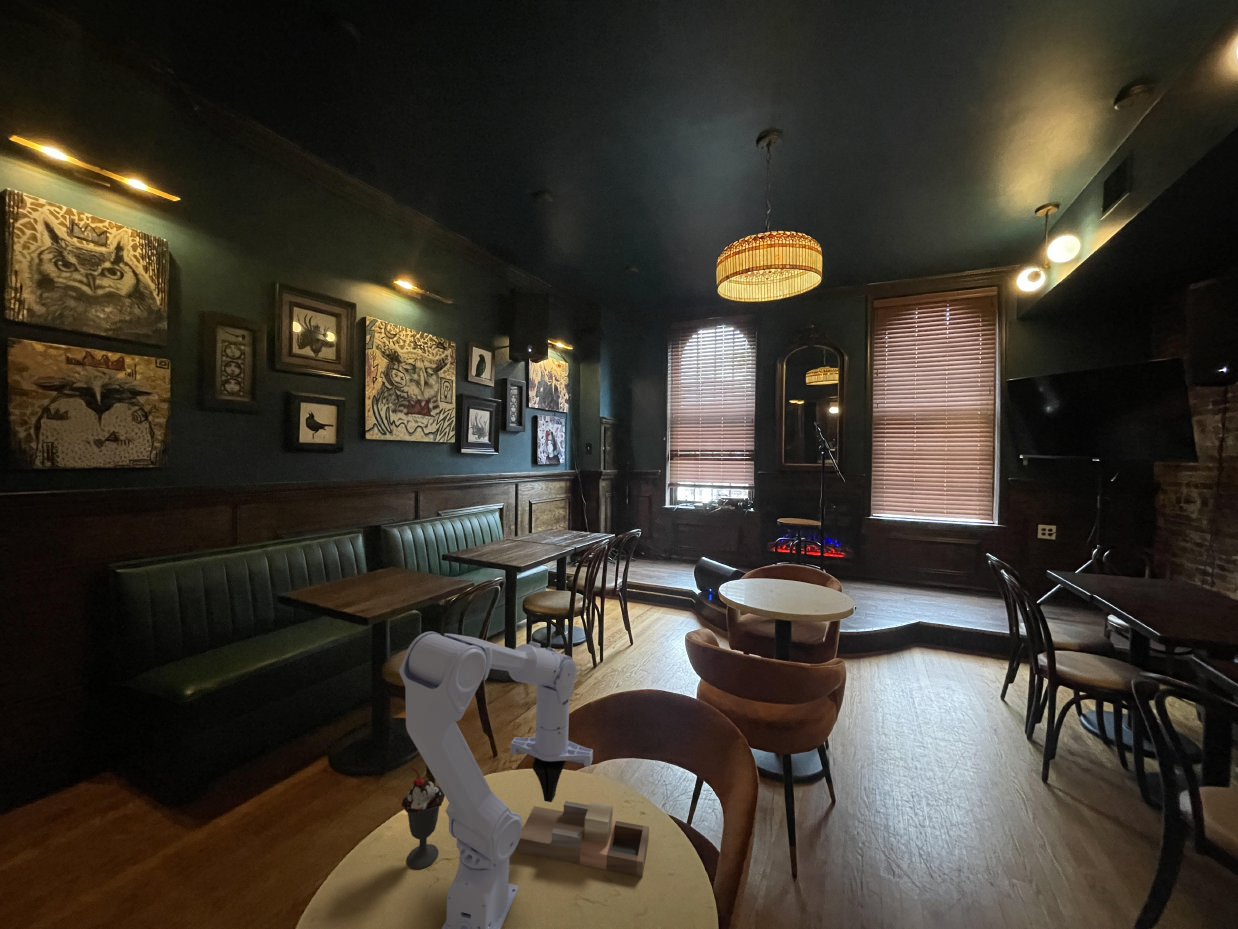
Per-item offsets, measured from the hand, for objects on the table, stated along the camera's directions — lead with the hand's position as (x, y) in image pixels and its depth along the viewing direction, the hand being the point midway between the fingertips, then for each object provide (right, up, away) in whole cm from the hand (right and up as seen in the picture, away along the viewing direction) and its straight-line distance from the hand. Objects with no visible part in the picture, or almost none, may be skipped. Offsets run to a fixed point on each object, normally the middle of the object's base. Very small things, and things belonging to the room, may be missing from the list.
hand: (549, 797), depth 86 cm
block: (+9, -5, -1) cm, 10 cm away
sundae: (-21, -7, -4) cm, 22 cm away
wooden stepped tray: (+6, -8, -1) cm, 10 cm away
